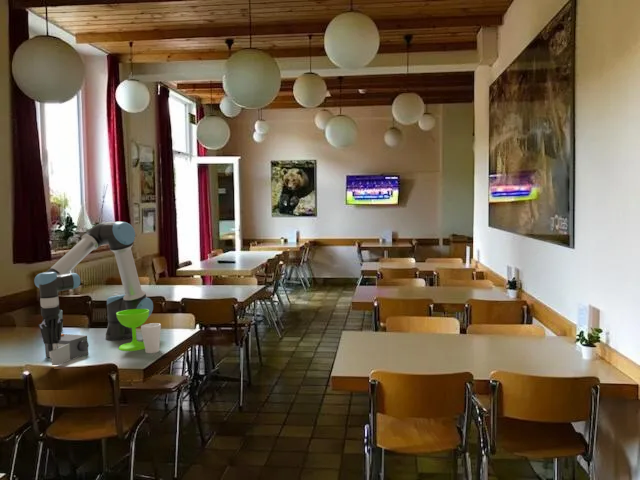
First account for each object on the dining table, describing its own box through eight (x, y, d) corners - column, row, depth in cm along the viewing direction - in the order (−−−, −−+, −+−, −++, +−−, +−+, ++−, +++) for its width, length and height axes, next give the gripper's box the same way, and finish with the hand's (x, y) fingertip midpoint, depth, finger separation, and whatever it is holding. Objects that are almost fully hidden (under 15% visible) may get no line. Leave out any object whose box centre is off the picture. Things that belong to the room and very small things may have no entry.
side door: (69, 358, 275) (68, 343, 274) (71, 358, 275) (70, 343, 274) (51, 367, 261) (50, 351, 261) (53, 367, 261) (52, 351, 261)
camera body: (91, 354, 285) (90, 334, 284) (73, 360, 274) (72, 339, 274) (63, 351, 292) (62, 332, 291) (45, 357, 281) (44, 337, 281)
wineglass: (118, 352, 285) (115, 316, 284) (118, 345, 300) (116, 310, 299) (152, 348, 290) (149, 312, 289) (150, 341, 305) (148, 307, 304)
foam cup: (151, 354, 278) (149, 328, 277) (138, 352, 283) (136, 326, 282) (166, 350, 286) (164, 323, 285) (153, 348, 291) (151, 322, 290)
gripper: (54, 303, 271) (57, 353, 273) (31, 309, 258) (35, 361, 260) (67, 303, 269) (70, 354, 270) (45, 309, 256) (49, 362, 258)
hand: (53, 357), depth 265 cm, fingers closed
